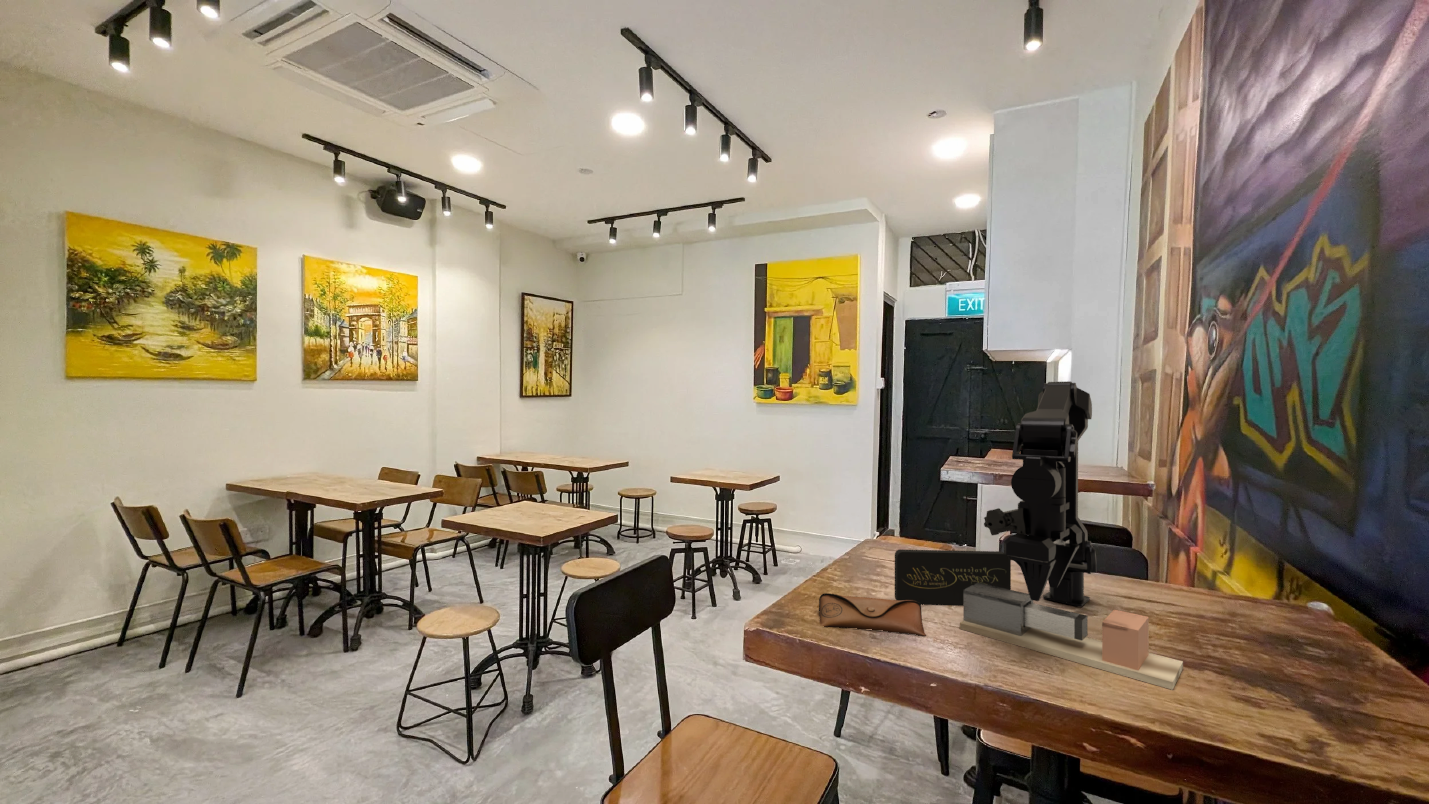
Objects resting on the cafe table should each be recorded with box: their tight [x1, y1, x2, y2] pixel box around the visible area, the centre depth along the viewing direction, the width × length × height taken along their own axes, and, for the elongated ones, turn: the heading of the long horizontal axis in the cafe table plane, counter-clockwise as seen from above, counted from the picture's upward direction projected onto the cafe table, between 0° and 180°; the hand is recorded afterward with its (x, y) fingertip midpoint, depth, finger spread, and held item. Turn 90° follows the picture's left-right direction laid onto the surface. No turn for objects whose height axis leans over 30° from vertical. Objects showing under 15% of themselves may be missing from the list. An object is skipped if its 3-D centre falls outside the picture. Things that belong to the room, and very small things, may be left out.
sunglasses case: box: [818, 592, 927, 637], centre depth 98 cm, size 18×7×7 cm
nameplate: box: [894, 549, 1012, 607], centre depth 107 cm, size 21×2×10 cm, turn 87°
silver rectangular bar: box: [1023, 602, 1088, 641], centre depth 92 cm, size 3×17×3 cm, turn 44°
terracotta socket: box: [1101, 609, 1150, 670], centre depth 82 cm, size 7×4×6 cm, turn 134°
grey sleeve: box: [962, 583, 1034, 636], centre depth 94 cm, size 6×9×5 cm, turn 44°
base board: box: [959, 620, 1184, 691], centre depth 88 cm, size 9×28×1 cm, turn 44°
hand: (1044, 593), depth 90 cm, fingers open, 9 cm apart
